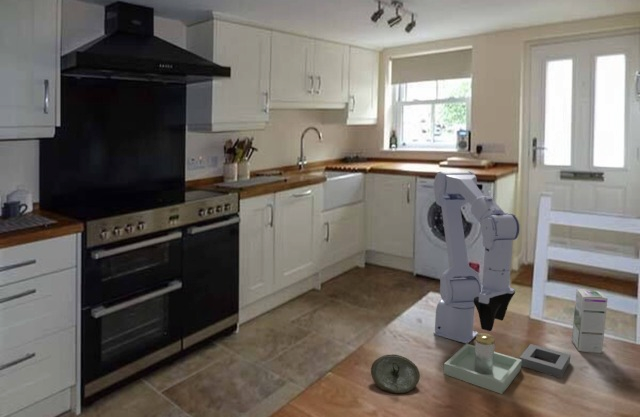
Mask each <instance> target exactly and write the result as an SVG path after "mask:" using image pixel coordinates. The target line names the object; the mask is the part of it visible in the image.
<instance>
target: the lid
mask: <svg viewBox="0 0 640 417" xmlns="http://www.w3.org/2000/svg"><path fill="white" fill-rule="evenodd" d="M370 374H371V375H370V376H371V377H372V378H371V379H372V380H373V382H374V384H375V385H376V387H378V388H379V389H381V390H383V391H385V392H387V393H390V394H391V393H392V394H405V393H408V392H410V391H413V389H415V388H416V387H417V385H418V383H419V381H420V379H421V378H420V375H421V374H420V371H419V368H418V366H417V365H416V364H415V363H414V362H413V361H412V360H411V359H409V358H407V357H405V356H402V355H398V354H393V353H392V354H385V355H382V356H380V357H378V358H376V359H375V360H374V361H373V362H372V365H371V368H370Z"/></svg>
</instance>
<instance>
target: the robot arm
mask: <svg viewBox="0 0 640 417" xmlns="http://www.w3.org/2000/svg"><path fill="white" fill-rule="evenodd" d="M433 192H434V197H435V203H436V205H438V206H439V207H441V214H442V222H443V230H444V236H445V244H446V245H445V246H446V250H447V251H446V252H447V259H448V268H447V269H446V270H445V271H444V272H442V274H441V275H440V277H439V278H440V279H439V280H440V281H439V282H440V285H439V294H440V298H441V299H440V300H439V301H438V303H437V305H436V310H435V318H434V320H435V323H434V331H433V335H434V336H438V337H439V336H440V337H441V338H446V339H449V340H452V341H455V342H459V343H463V344H464V345H466V344H469V343H471V341H472V340H473V339H475V338H476V335H477V334H479V332H478V331H474V320H475V309H476V310H477V313H478V314H477V315H478V318H479V323H480V327H481V328H480V329H481V330H484V331H487V332H492V330H493V327H494V323H495V320H498V321H503V320H504V319H505V316H506V313H507V310H508V307H509V304H510V302H511V300H512V299H513V297H514V296H515V293H516V290H515V288H512V287H511V268H512V258H513V257H512V255H513V245H514V241H515V240H517V239H518V238H519V235H520V232H521V231H520V230H521V227H520V226H521V225H520V221H519V219H518V217H517V216H516V214H514V213H508V212H504V210H503V209H502V208H501V207H500V206H499V205H498V204H497V202H496V201H495V200H494V199H493V197H492V196H490V195H489V196H487V195H484V194H483V192H482V191H481V189H480V188H479V186H478V180H477V176H476V175H475V172H473V171H469V170H468V171H438V172H437V173H436V174H435V176H434V182H433ZM468 203H469V204H470V205H471V207H470V212H471V214H472V215H473V217H475V219H476V220H477V222H478V223H479V224H480V225H481V226H480V229H481V231H480V232H481V234H482V245H483V247H484V254H483V255H484V258H483V259H484V260H483V272H482V281H481V279H480V275H479V273H478V271H476V270H475V269H473V268H472V267H471V266H470V265H469V260H468V259H469V258H468V253H467V247H466V246H467V245H466V238H465V233H464V232H465V231H464V224H463V217H462V210H461V209H462V206H465V205H467V204H468Z"/></svg>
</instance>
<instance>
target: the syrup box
mask: <svg viewBox="0 0 640 417" xmlns="http://www.w3.org/2000/svg"><path fill="white" fill-rule="evenodd" d="M575 291H576V292H575V301H574V302H575V303H574V311H573V313H574V314H573V322H572V323H573V324H572V335H571V336H572V337H571V342H572V344H573V345H574V346H575V348H576V350H577V352H583V353H585V352H586V353H593V354H596V353H597V354H603V349H604V348H603V347H604V340H605V328H606V319H607V306H608V297H607V296H605V294H604V293H602V291H600V290H596V289H589V288H588V289H583V288H582V289H581V288H579V289H576V290H575Z"/></svg>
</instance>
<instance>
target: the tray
mask: <svg viewBox="0 0 640 417" xmlns="http://www.w3.org/2000/svg"><path fill="white" fill-rule="evenodd" d="M475 346H476V345H473V344H469V343H468V344H464V345H463V346H462V347H461V348H460V349H458V351H456V352H455V354H453V355H452V356H451V357H449V359H448V360H447V361H445V362H444V363H443V364H444V365H443V375H446V376H449V377H452V378H454V379H457V380H461V381H464V382H466V383H468V384H471V385H474V386H478V387H480V388H483V389H486V390H489V391H492V392H495V393H498V394H500V395H503V393H505V391H506V390H507V389H508V387H510V385H511V384H512V382H513V381H514V379H516V377H517V376H518V374H519V373H520V371H522V366H521V362H522V360H521V359H520V358H516V357H514V356H510V355H507V354H503V353H501V352H496V351H494V360H493V372H492V373H491V374H487V375H486V374H480V373H478V372H476V371H475V370H474V364H475Z"/></svg>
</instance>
